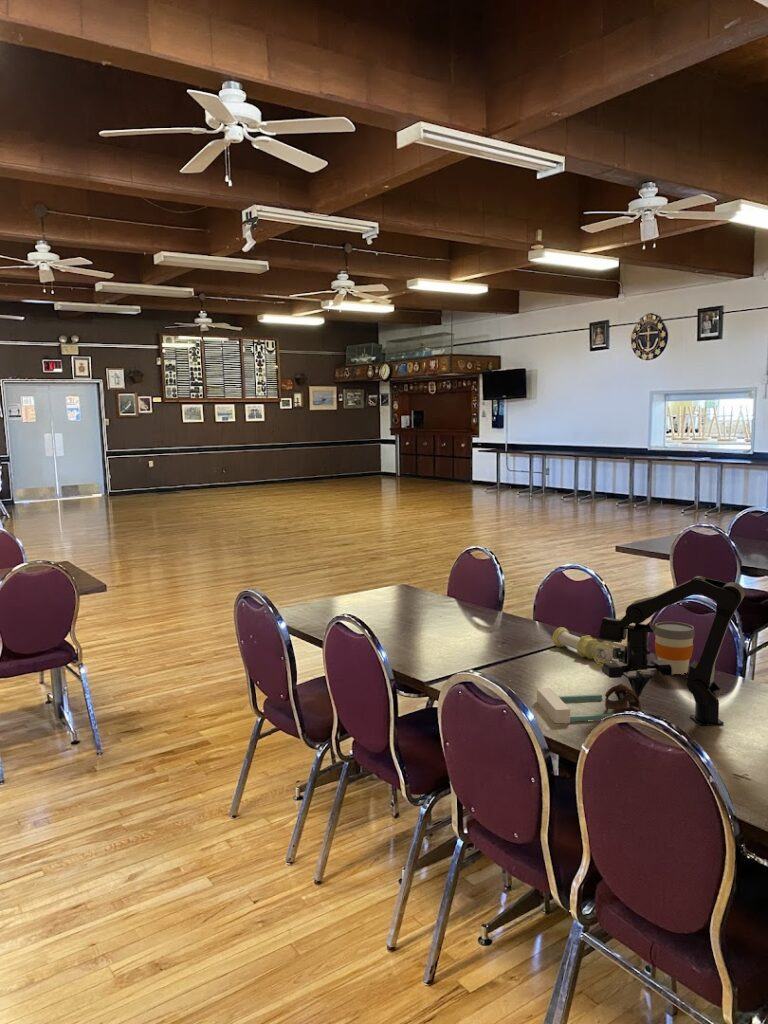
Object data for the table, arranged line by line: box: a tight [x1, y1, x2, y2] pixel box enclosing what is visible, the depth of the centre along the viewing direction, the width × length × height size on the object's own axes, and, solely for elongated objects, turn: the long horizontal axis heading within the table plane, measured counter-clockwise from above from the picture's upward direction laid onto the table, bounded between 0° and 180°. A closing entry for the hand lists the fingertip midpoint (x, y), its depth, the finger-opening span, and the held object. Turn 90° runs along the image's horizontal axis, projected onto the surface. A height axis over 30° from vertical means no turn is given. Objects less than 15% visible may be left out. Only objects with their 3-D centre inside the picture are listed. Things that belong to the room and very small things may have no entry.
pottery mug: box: [604, 683, 642, 712], centre depth 211 cm, size 12×10×8 cm
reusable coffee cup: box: [653, 621, 696, 675], centre depth 244 cm, size 13×13×15 cm
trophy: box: [551, 626, 620, 666], centre depth 261 cm, size 8×8×30 cm
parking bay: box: [536, 687, 615, 724], centre depth 211 cm, size 17×20×4 cm
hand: (636, 697), depth 212 cm, fingers closed
